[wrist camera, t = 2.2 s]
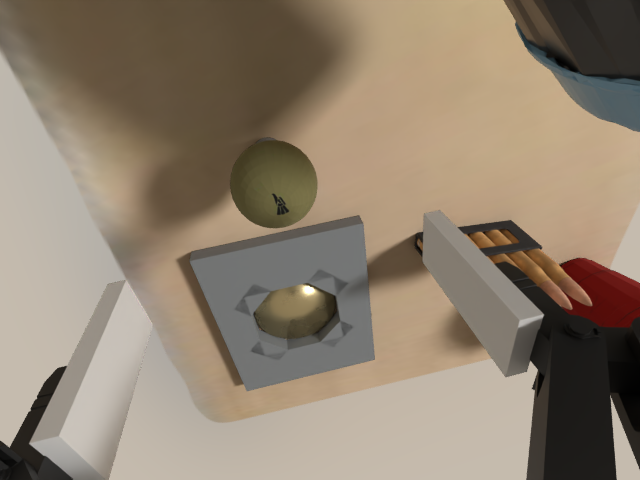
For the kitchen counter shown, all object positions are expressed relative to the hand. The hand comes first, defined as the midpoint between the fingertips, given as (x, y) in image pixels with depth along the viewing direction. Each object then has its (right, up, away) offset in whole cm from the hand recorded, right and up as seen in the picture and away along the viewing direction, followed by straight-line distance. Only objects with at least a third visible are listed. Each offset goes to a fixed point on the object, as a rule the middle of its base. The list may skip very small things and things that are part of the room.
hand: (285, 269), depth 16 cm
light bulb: (-3, +9, +13) cm, 16 cm away
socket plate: (-1, -6, +23) cm, 24 cm away
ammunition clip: (+17, +2, +22) cm, 28 cm away
